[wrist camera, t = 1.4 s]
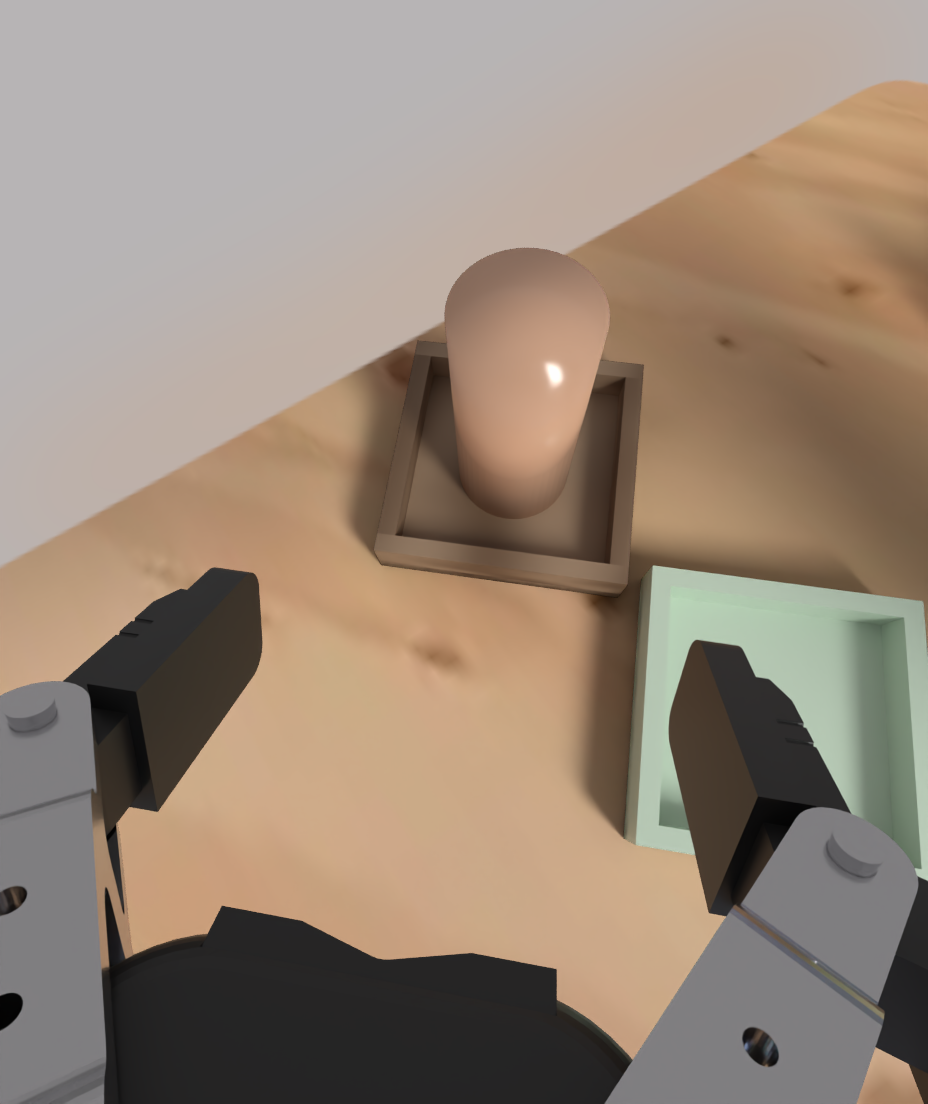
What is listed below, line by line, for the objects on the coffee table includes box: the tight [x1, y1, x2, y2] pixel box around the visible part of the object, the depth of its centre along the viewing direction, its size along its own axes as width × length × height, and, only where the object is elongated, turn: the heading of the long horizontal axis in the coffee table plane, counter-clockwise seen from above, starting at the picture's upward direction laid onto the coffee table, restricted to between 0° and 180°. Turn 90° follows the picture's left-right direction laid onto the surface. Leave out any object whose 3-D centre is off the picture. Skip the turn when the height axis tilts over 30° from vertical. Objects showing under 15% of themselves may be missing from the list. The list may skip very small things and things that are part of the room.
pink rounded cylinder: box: [445, 248, 610, 519], centre depth 25 cm, size 5×5×11 cm
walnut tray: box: [374, 341, 644, 597], centre depth 30 cm, size 11×11×2 cm
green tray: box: [624, 565, 928, 881], centre depth 26 cm, size 11×11×2 cm
